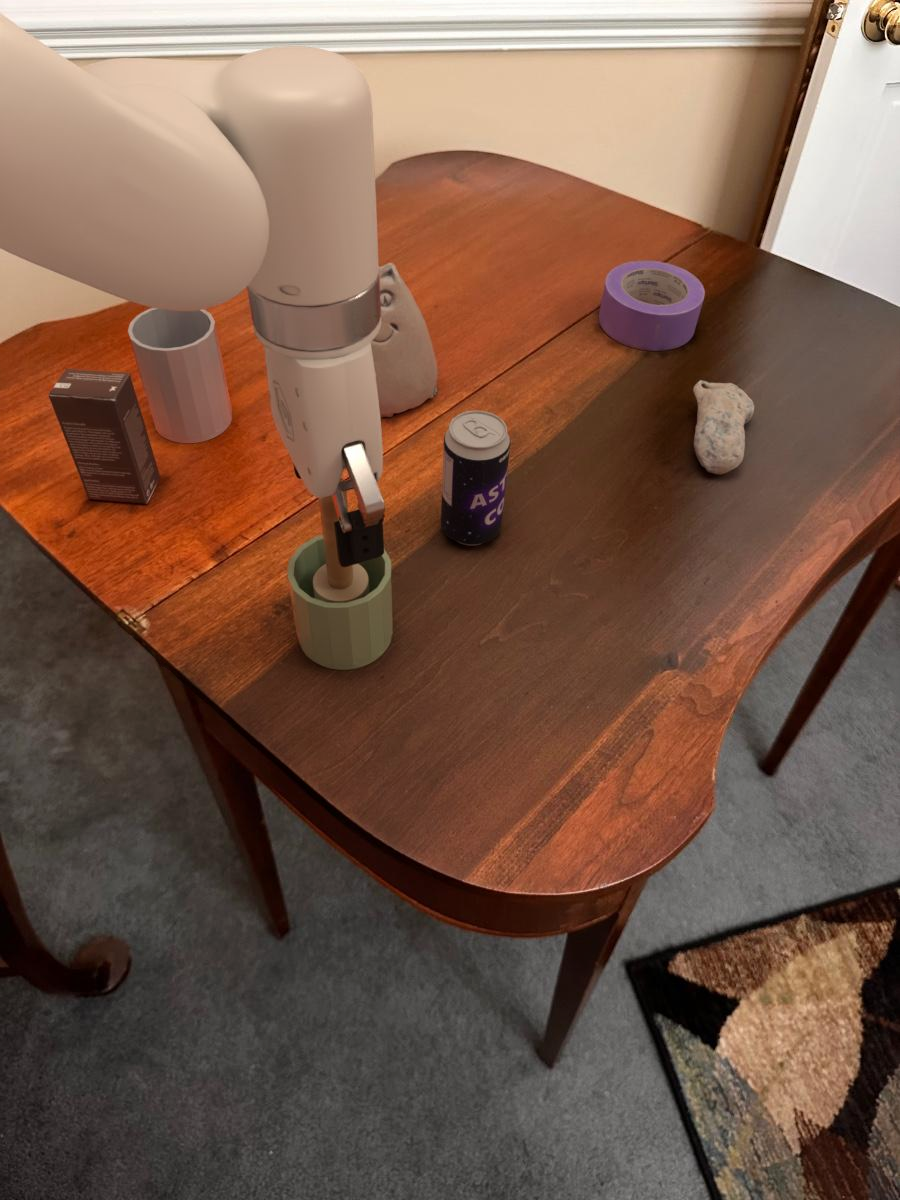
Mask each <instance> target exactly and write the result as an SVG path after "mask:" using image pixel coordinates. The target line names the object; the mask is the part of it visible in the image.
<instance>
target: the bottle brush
mask: <svg viewBox="0 0 900 1200" xmlns="http://www.w3.org/2000/svg"><path fill="white" fill-rule="evenodd" d="M341 481H345V480H344V479H343V478H342V477H341V478H340V481H339V482H341ZM343 496H344V499H345V503H346V506H347V510H348V511H349V504H348V503H349V502H348V490H347V491H343ZM318 503H319V513H320V521H321V531H322V535H323V541H324V550H325V559H326V564H325V565H323V566H321V567H320V568H319V569H318V570H317V571H316V573H315V575H314V577H313V589H314V597H315V599H318V600H321V601H324V602H327V603H347V602H350V601H354V600H357V599H360V598H363V597H365V596H366V595H368V594H369V578H368V574H367V572H366V570H365V569H364V568H363V567H362V566H361V565H359V564H354V565H351V566H348V567H342V566H341V565H340V563H339V561H338V554H337V545H336V536H335V527H334V522H337V521H338V516H337V512H336V509H335V505H334V502H333V498H332V496H328V497H323V498H322V499H319V498H318Z"/></svg>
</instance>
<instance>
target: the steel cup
mask: <svg viewBox="0 0 900 1200" xmlns="http://www.w3.org/2000/svg"><path fill="white" fill-rule="evenodd" d="M127 333H128V337H129V341H130V345H131V348H132V351H133V355H134V359H135V362H136V366H137V369H138V373H139V377H140V380H141V384H142V387H143V391H144V394H145V397H146V401H147V405H148V408H149V412H150V416H151V419H152V422H153V424H154V429H155V430H156V431H157V433H158V434H159V435H160V436H161V437H163V438H164V439H166V440H167V441H170V442H174V443H179V444H197V443H204V442H206V441H210V440H212V439H214V438H216V437H218V436H220V435H222V434H223V433H224V432H225V431H226V430H227V429H228V428H229V427H230V426H231V423H232V422H233V421H232V420H233V409H232V407H233V406H232V403H231V397H230V393H229V388H228V383H227V382H228V381H227V377H226V371H225V367H224V362H223V356H222V352H221V347H220V341H219V336H218V330H217V325H216V320H215V319H214V317H213V314H211V313H210V312H209V311H207V309H202V310H196V311H171V310H164V309H158V308H152V307H149V308H148V309H145V310H144V311H142V312H140V313H139V314H137V315H136V316H135V317H134V318H133V319H132V320H131V321H130V322H129V325H128V329H127Z"/></svg>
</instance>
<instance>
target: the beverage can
mask: <svg viewBox="0 0 900 1200" xmlns="http://www.w3.org/2000/svg"><path fill="white" fill-rule="evenodd" d="M508 433H509V432H508V427H507V424H506V423H505V422H504V420H503V419H502V418H501V417H500V416H499V415H496V414H494V413H491V412H489V411H485V410H467V411H464V412H461V413H459V414H457V415H456V416H454V417H453V418H452V419H451V420H450V423H449V425H448V428H447V430H446V431H445V434H444V437H443V450H442V451H443V452H442V453H443V454H442V476H441V477H442V478H441V480H442V481H441V505H440V506H441V507H440V526H441V529H442V531H443V532H444V534H445V535H446V536H447V537H448V538H449V539H451V540H453V541H455V542H457V543H458V544H461V545H465V546H479V545H482V544H484V543H488V542H490V541H492V540H493V539H494V538H496V537H497V536H498V535H499V533H500V531H501V529H502V522H503V515H504V514H503V513H504V505H505V496H506V488H507V487H506V486H507V478H508V469H509V460H510V450H511V437H510V435H509V434H508Z"/></svg>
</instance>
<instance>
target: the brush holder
mask: <svg viewBox="0 0 900 1200" xmlns="http://www.w3.org/2000/svg"><path fill="white" fill-rule="evenodd" d="M325 564H326V559H325V550H324V541H323V534H319V535H316V536H314V537H312V538H310V539H308V540H307V541H305V542H304V543H302V544H301V545H299V546H298V547H297V548H296V550H295V551H294V553H292V555H291V557H290V558H289V560H288V565H287V573H286V577H287V578H286V579H287V584H288V590H289V597H290V603H291V609H292V614H293V615H292V616H293V620H294V621H293V622H294V626H295V633H296V637H297V641H298V643H299V647H300V648H301V650H302V652H303V654H305V656H306V657H307V658H308V659H309V660H311V661H312V662H313V663H316V664H317V665H319V666H322V667H324V668H327V669H331V670H339V671H346V670H347V671H348V670H356V669H360V668H363V667H365V666H368V665H370V664H371V663H373V662H375V661H377V660H378V659H380V658H381V656H383V654H384V653H385V652H386V651H387V650H388V648H389V646H390V644H391V642H392V639H393V636H394V635H393V633H394V612H393V609H394V608H393V576H392V575H393V574H392V573H393V571H392V559H391V558H390V556H389V554H388V553H387V550H386V549H385V548H384V554H383V555H382V556H380V557H377V558H374V559H371V560H367V561H364V562H361V563H358V564H359V565H361V566H362V567H363V568H364V569H365V570H366V572H367V574H368V578H369V594H368V595H366V596H365V597H363V598H360V599H357V600H354V601H350V602H347V603H327V602H324V601H321V600H318V599H315V597H314V589H313V577H314V575H315V573H316V571H317V570H318V569H319V568H320V567H321V566H323V565H325Z"/></svg>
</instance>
